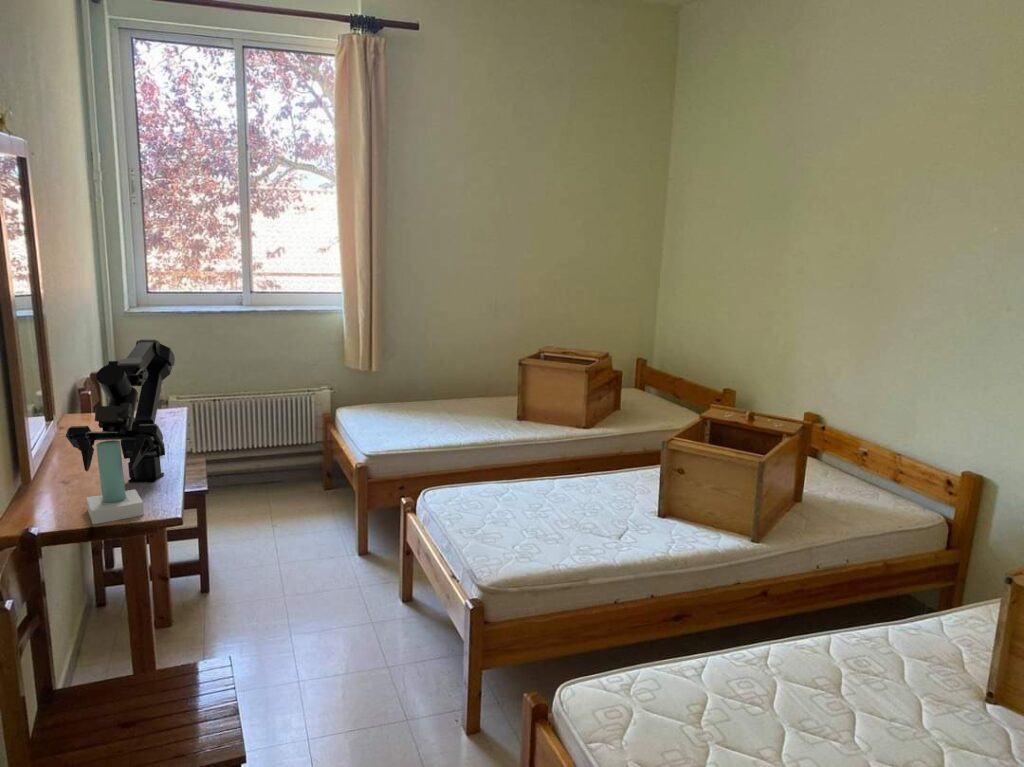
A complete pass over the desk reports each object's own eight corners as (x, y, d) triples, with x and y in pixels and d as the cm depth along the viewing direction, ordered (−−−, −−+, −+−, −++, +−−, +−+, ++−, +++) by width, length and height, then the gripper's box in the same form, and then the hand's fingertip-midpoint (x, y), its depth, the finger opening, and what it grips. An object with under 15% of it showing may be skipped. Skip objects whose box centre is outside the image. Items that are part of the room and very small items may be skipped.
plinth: (136, 501, 171) (135, 488, 171) (144, 514, 163) (142, 501, 163) (87, 510, 166) (86, 497, 165) (92, 524, 158) (91, 510, 157)
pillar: (119, 494, 167) (113, 439, 164) (129, 498, 164) (123, 442, 162) (98, 500, 163) (92, 443, 161) (109, 504, 161) (102, 447, 158)
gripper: (64, 391, 161) (48, 454, 153) (155, 389, 164) (144, 450, 156) (81, 417, 170) (67, 477, 162) (167, 414, 174) (158, 474, 165)
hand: (109, 469), depth 161 cm, fingers open, 9 cm apart
